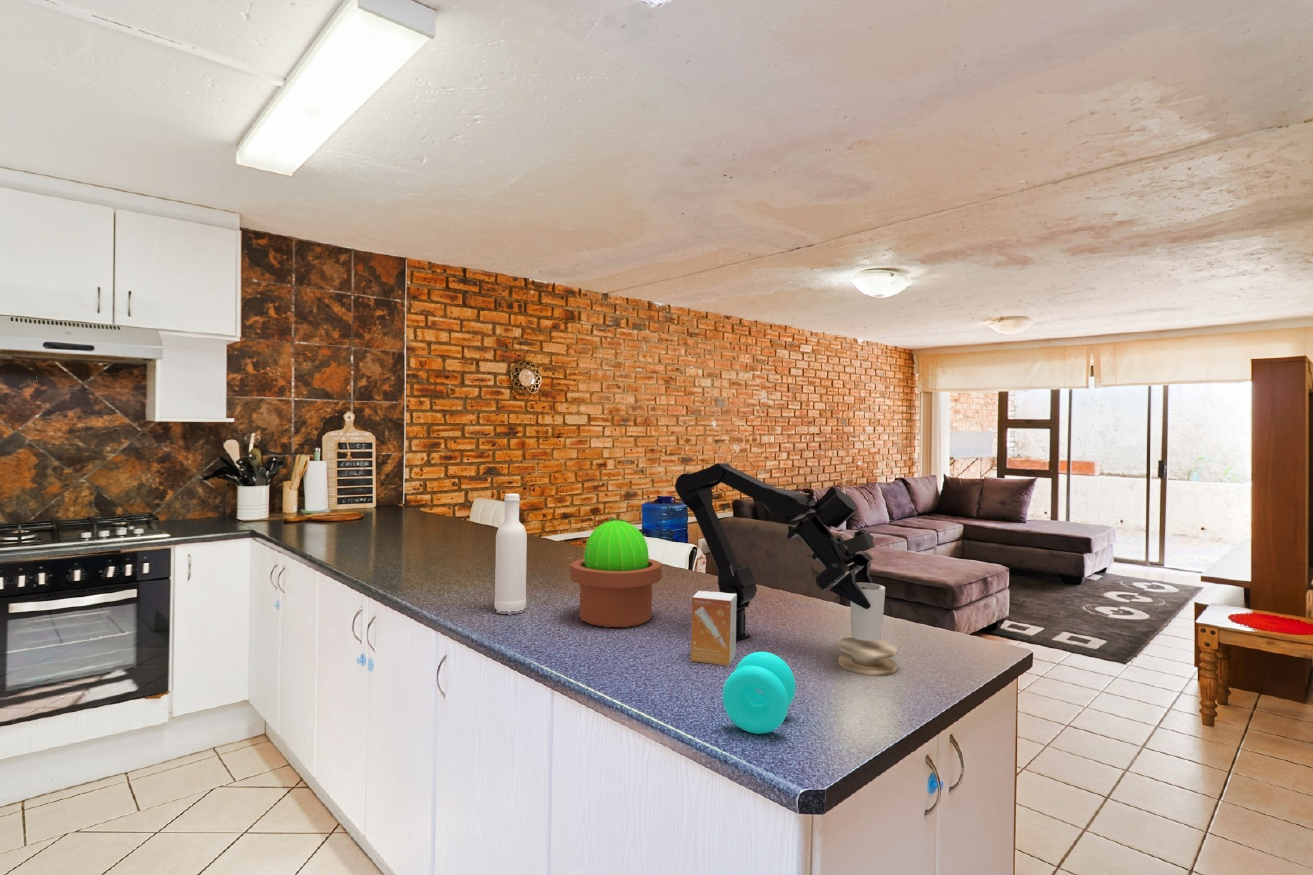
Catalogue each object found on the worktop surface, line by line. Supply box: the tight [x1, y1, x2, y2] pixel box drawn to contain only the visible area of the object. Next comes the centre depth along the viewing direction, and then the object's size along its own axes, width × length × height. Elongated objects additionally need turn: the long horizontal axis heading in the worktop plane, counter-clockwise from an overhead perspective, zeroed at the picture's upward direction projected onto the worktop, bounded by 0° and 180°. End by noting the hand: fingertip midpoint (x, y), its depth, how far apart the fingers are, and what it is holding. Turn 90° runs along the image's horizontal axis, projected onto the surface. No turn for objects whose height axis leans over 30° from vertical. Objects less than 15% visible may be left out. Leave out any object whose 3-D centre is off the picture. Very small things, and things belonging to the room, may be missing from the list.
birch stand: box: [838, 636, 898, 677], centre depth 127 cm, size 11×11×4 cm
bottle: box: [494, 493, 528, 612], centre depth 164 cm, size 8×8×30 cm
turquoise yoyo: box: [722, 651, 797, 735], centre depth 100 cm, size 10×10×10 cm
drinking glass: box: [849, 582, 886, 641], centre depth 127 cm, size 7×7×10 cm
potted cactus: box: [570, 518, 663, 629], centre depth 159 cm, size 22×22×25 cm
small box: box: [690, 590, 737, 667], centre depth 130 cm, size 8×6×13 cm
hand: (874, 604), depth 127 cm, fingers closed on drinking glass, 6 cm apart
